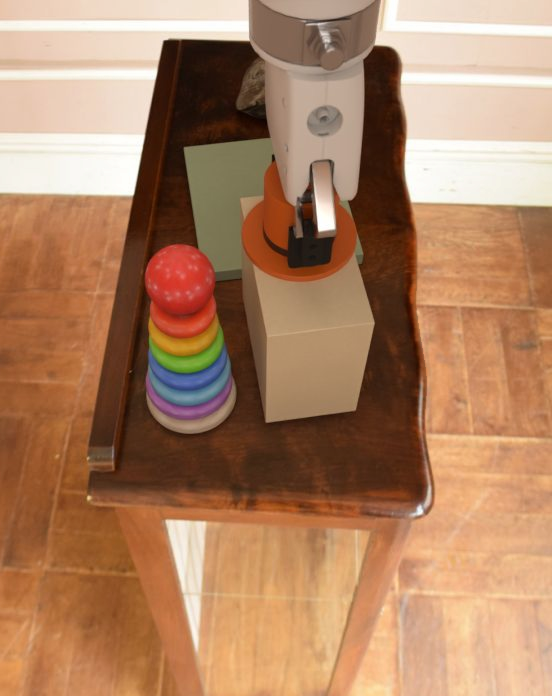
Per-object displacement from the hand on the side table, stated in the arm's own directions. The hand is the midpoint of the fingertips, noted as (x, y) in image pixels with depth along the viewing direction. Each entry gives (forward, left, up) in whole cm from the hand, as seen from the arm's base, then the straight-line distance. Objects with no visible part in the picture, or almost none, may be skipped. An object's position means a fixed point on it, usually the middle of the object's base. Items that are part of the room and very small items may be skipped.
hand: (299, 226), depth 60 cm
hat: (0, 0, -1) cm, 1 cm away
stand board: (-1, -17, -15) cm, 23 cm away
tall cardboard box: (0, +2, -15) cm, 15 cm away
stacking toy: (+10, +5, -15) cm, 19 cm away
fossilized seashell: (-4, -33, -15) cm, 37 cm away
